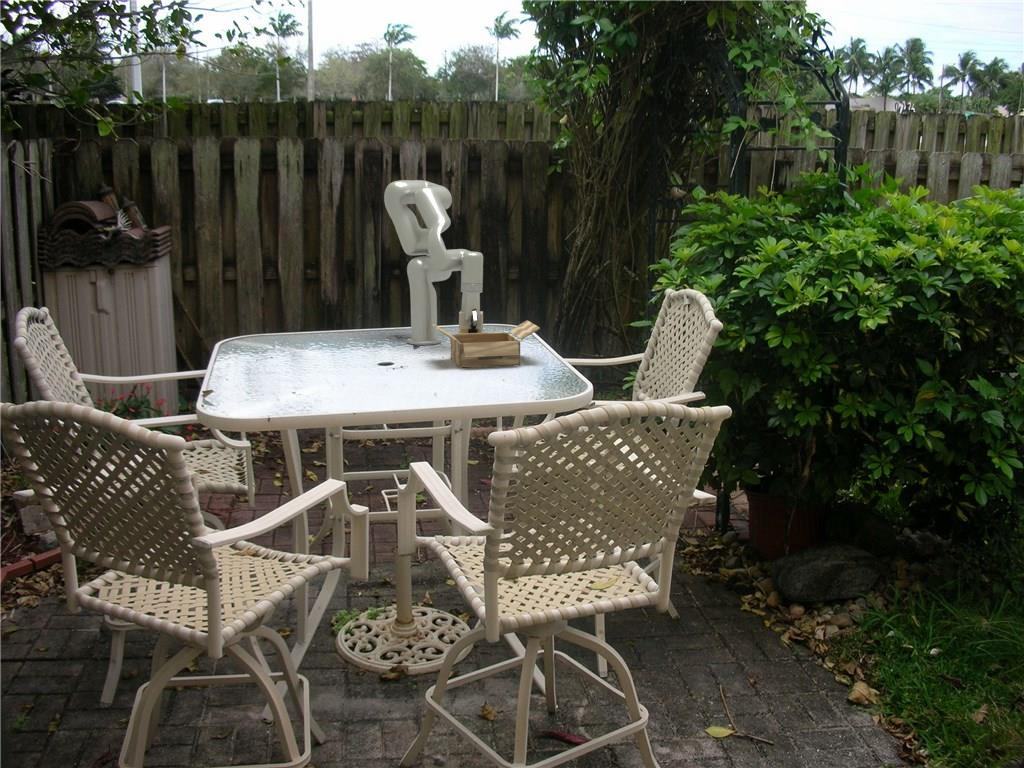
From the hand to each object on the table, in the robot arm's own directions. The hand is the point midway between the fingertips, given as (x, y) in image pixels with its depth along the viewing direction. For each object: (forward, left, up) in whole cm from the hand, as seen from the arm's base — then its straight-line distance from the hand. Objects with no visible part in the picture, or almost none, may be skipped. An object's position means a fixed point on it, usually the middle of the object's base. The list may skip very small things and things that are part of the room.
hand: (470, 337), depth 341 cm
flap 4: (+21, +11, +4) cm, 24 cm away
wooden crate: (+21, +1, -5) cm, 21 cm away
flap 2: (+12, +1, +4) cm, 13 cm away
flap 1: (+21, -10, +4) cm, 23 cm away
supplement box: (0, 0, -4) cm, 4 cm away
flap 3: (+30, +1, +4) cm, 30 cm away
